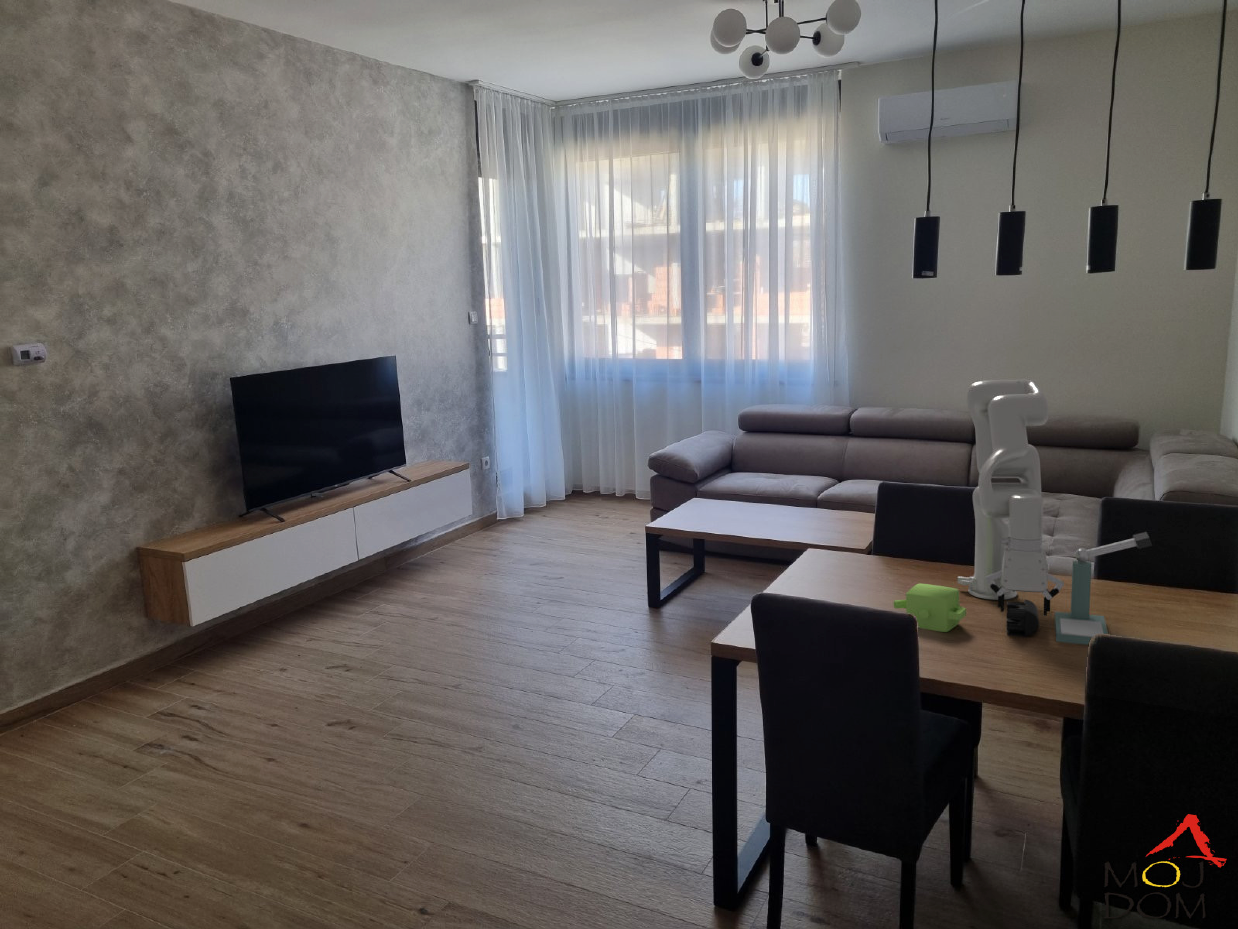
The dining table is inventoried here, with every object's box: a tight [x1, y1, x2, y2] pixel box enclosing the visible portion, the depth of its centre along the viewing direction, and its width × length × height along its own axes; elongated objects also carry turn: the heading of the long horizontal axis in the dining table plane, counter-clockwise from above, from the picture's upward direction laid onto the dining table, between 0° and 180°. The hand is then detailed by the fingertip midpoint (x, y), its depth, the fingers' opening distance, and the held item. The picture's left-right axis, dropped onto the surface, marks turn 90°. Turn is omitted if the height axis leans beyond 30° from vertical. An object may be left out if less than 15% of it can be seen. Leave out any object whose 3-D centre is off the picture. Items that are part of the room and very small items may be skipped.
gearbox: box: [893, 582, 967, 633], centre depth 225 cm, size 18×10×10 cm, turn 49°
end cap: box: [1005, 599, 1040, 638], centre depth 218 cm, size 10×7×7 cm
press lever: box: [1074, 531, 1153, 562], centre depth 215 cm, size 16×6×3 cm, turn 65°
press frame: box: [1054, 560, 1109, 646], centre depth 215 cm, size 11×17×16 cm, turn 155°
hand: (1023, 612), depth 217 cm, fingers open, 9 cm apart
